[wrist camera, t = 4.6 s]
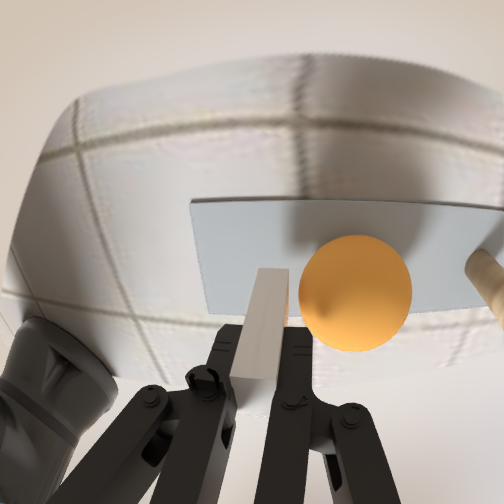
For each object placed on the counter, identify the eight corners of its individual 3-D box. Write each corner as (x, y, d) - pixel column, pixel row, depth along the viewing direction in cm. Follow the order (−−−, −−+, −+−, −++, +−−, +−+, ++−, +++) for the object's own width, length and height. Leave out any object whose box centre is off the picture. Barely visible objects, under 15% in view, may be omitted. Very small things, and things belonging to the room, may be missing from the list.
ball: (311, 387, 12) (414, 358, 13) (322, 288, 10) (448, 264, 10) (287, 311, 18) (372, 296, 18) (286, 222, 15) (384, 213, 15)
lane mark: (209, 312, 20) (209, 313, 19) (189, 202, 16) (188, 203, 16) (525, 298, 16) (526, 300, 15) (554, 217, 12) (555, 218, 12)
